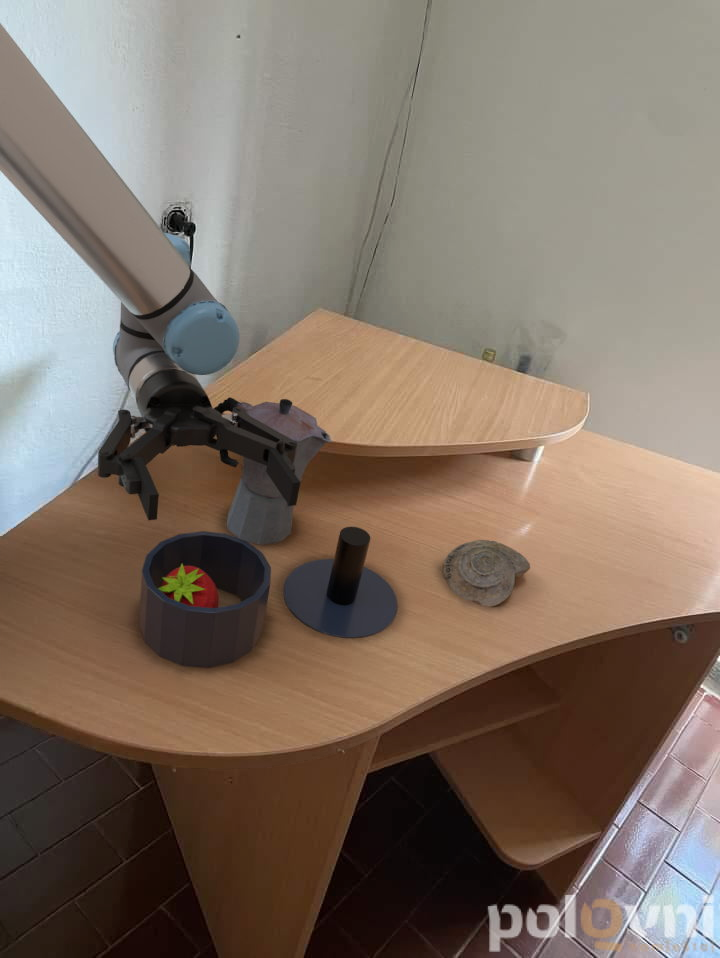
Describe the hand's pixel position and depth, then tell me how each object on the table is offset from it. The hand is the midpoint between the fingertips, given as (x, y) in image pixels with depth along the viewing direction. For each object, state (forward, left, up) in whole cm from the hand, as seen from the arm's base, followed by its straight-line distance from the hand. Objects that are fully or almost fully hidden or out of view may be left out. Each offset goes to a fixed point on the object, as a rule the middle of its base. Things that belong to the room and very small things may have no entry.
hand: (227, 500), depth 65 cm
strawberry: (0, +3, -19) cm, 19 cm away
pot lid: (+17, +3, -19) cm, 26 cm away
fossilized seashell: (+38, +1, -20) cm, 43 cm away
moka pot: (+12, +19, -20) cm, 30 cm away
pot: (0, +3, -19) cm, 20 cm away
